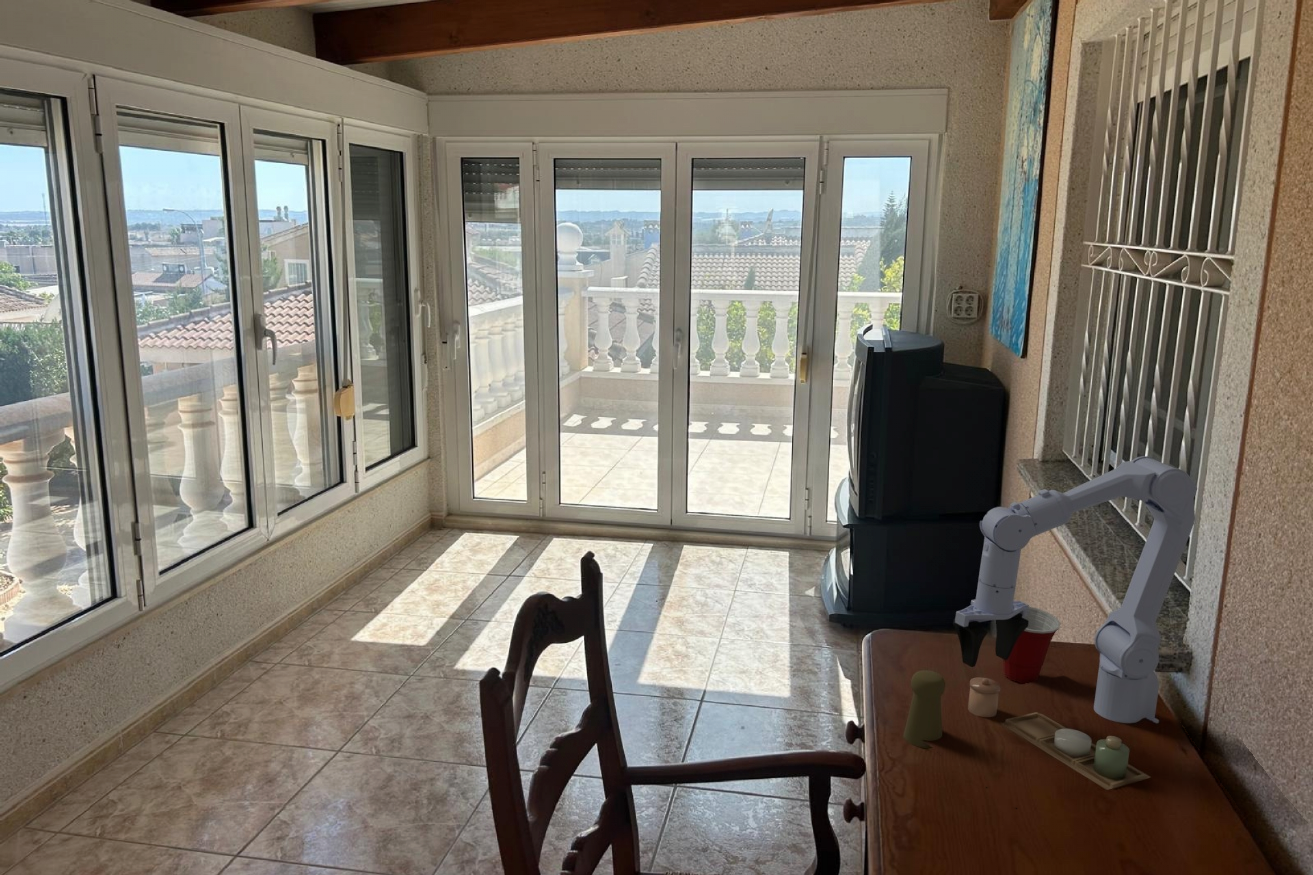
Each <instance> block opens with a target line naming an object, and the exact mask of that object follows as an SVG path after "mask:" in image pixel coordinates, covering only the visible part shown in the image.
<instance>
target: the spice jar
mask: <svg viewBox="0 0 1313 875" xmlns="http://www.w3.org/2000/svg"><path fill="white" fill-rule="evenodd" d="M1001 686H1002V685H1001V684H1000V683H999V682H998V681H996V680H994V679H992V678H989V677H979V676H978V677H974V678H971V679H970V681H969V688H970V689H969V696H968V704H967V705H968V707H967V709H968V711H969V713H971V714H973V715H975V716H977V717H981V718H991V717H992V718H993V717H995V716H996V715H997V712H998V702H999V693H1000V691H1001Z"/></svg>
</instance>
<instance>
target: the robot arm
mask: <svg viewBox="0 0 1313 875" xmlns="http://www.w3.org/2000/svg"><path fill="white" fill-rule="evenodd" d="M1197 490H1198V487H1197V485H1196V484H1195V482H1194V481H1193V480H1192V478H1191V476H1190V475H1189V474H1188V473H1187V472H1186V471H1185V470H1183V469H1181V468H1177V467H1173V466H1170V465H1169V464H1166V463H1163V462H1161V461H1159V460H1157V459H1156V458H1153V457H1151V456H1147V455H1141V456H1138V457H1135V458H1134V459H1132V460H1128V461H1123V462H1121V463H1120V464H1119V465H1118V466H1117V467H1116V468H1113V469H1112V470H1110V471H1108V472H1105V473H1103V474H1101V475H1099V476H1097V477H1095V478H1093V479H1091V480H1088V481H1086V482H1085V483H1082V484H1080V485H1077V486H1076V487H1073V488H1071V489H1069V490H1067V491H1065V492H1060V491H1058V490H1055V489H1050V490H1048V489H1046V488H1044V489H1040V490H1038V491H1037V494H1038V495H1036V496H1033V497H1030V498H1028V499H1024V500H1023V501H1020V502H1017V501H1014V502H1011V503H1010V504H1009V505H1010V506H1009V507H1005V506H1004V507H1003V506H996V507H993V508H991V509H990V510H988V511H987V512H986V514H985V515H984V516H983V519H982V520H980V521H979V529H980V531H981V534H982V535H983V536H984V539H983V547H982V554H981V557H980V558H981V559H980V567H979V573H978V574H979V575H978V580H977V581H978V582H977V589H976V596H975V599H971V601H970V605H969V606H966V607H965V608H963V609H960V610H957V611H956V612H955V617H954V618H953V623H952V625H953V627H954V629H955V631H956V634H957V636H958V641H959V644H960V645H959V646H960V650H961V657H962V658H961V659H962V663H963V664H964V665H967V666H969V667H971V668H975V667H976V664H977V662H978V658H979V653H980V649H981V646H982V643H983V641H984V639H985V638H986V636H987V634H988V633H989V632H988V631H987V630H986V629H983V628H982V627H981V625H979V623H982V622H987V621H988V622H989V621H993V620H994V621H995V628H996V630H995V632H996V633H995V634H996V638H995V656H996V657H998V658H1000V659H1002V660H1003V659H1004V660H1008V658H1009V656H1010V654H1011V652H1012V650H1013V647H1014V645H1015V643H1016V641H1017V640H1018V638H1019V636H1020V635H1021V634H1022V632H1023V631H1024V630H1025V629H1026V628H1027V627H1028V623H1029V621H1028V620H1026V619H1024V618H1022V616H1027V614H1028V607H1029V606H1030V604H1028V603H1026V602H1023V601H1021V600H1014V599H1015V593H1016V585H1017V580H1018V574H1019V567H1020V559H1021V552H1022V549H1024V548H1025V547H1026V546H1027V545H1028V543H1029V542H1030V541H1031V539H1032V538H1033V537H1036V536H1038V535H1040V534H1043V533H1046V532H1048V531H1051V530H1053V529H1057V528H1058V527H1062V526H1064V525H1065V524H1066V525H1067V524H1068V523H1070V521H1071V520H1072V519H1071V518H1073V517H1072V516H1073V515H1074V513H1076V512H1079V511H1083V510H1086V509H1088V508H1091V507H1093V506H1094V507H1095V506H1098V505H1100V504H1103V503H1106V502H1108V501H1112V500H1115V499H1118V498H1121V497H1124V498H1128V499H1134V500H1137V501H1141V502H1143V503H1144V505H1145V506H1146V508H1147V509H1148V510H1147V511H1149V512H1150V515H1151V517H1152V518H1153V522H1152V525H1151V528H1150V530H1149V532H1148V535H1147V538H1146V541H1145V542H1144V543H1145V544H1144V546H1143V548H1142V551H1141V554H1140V556H1139V560H1138V562H1137V565H1136V567H1135V570H1134V572H1133V574H1132V578H1131V580H1130V583H1129V585H1128V587H1127V590H1126V593H1125V596H1124V598H1123V600H1122V601H1123V602H1121V603H1122V604H1121V607H1119V608H1117V609H1115V610H1113V611H1110V612H1109V613H1108V616H1107V618H1106V620H1105V621H1104V623H1103V624H1102V625H1100V626H1099V628H1098V629H1097V631H1096V632H1095V634H1094V637H1093V638H1094V646H1095V649H1096V650H1097V651H1098V653H1099V666H1098V673H1097V681H1096V689H1095V694H1094V697H1095V698H1094V701H1093V702H1094V703H1093V710H1094V712H1095V713H1096V714H1098V716H1100V717H1102V718H1104V719H1107V720H1109V721H1113V722H1115V723H1121V724H1133V723H1134V724H1135V723H1137V722H1139V721H1141V720H1142V719H1146V720H1149V721H1151V722H1153V723H1155V724H1159V723H1160V720H1159V719H1158V718H1156V716H1155V715H1156V710H1157V703H1158V697H1159V691H1160V690H1159V689H1160V685H1159V684H1160V683H1159V679H1158V676H1157V674H1156V673H1155V670H1156V669H1157V667H1158V664H1159V661H1160V656H1159V655H1160V654H1159V648H1160V644H1161V641H1162V637H1161V635H1160V634H1161V633H1160V631H1159V627H1158V625H1157V619H1158V617H1159V614H1160V612H1161V609H1162V606H1163V604H1164V601H1165V599H1166V596H1167V594H1168V591H1169V590H1170V585H1171V583H1172V582H1173V579H1174V576H1175V573H1176V571H1177V568H1178V567H1179V566H1178V565H1179V563H1180V561H1181V558H1182V557H1183V554H1184V550H1185V547H1186V545H1187V542H1188V540H1189V538H1190V535H1191V532H1192V530H1193V527H1194V525H1195V521H1196V512H1195V502H1194V498H1195V496H1196V493H1197Z"/></svg>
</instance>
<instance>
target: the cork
mask: <svg viewBox="0 0 1313 875" xmlns="http://www.w3.org/2000/svg"><path fill="white" fill-rule="evenodd" d="M910 687H911V690H912V692H913V694H912V697H911V702H910V706H909V710H908V711H909V712H908V714H907V715H908V716H907V719H906V724H905V727H904V732H903V739H904V740H905V741H906V742H907V743H908V744H911V745H913V746H915V747H918V748H922V749H933V746H931V745H930V744H928V743H927V742H928V741H929V742H932V741H937V740H939V739H941V738H942V737H943V721H942V720H943V719H942V700H941V699H942V698H941V697H942V695H944V694H945V690H946V681H945V679H944V677H943V676H942V675H941V674H940V673H938V672H936V671H933V670H928V669H927V670H925V669H922V670H918V671H916V672H915V673H913V674H912V677H911V680H910ZM925 741H927V742H925Z"/></svg>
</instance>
